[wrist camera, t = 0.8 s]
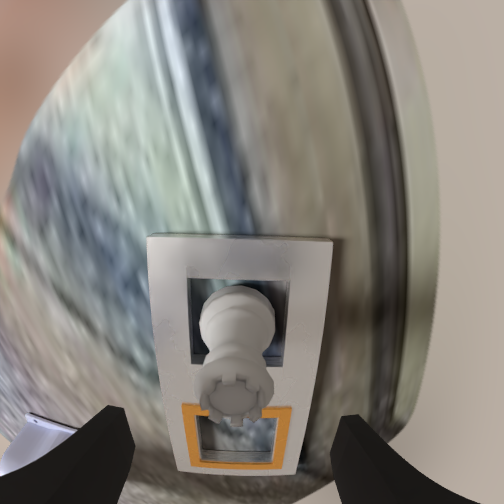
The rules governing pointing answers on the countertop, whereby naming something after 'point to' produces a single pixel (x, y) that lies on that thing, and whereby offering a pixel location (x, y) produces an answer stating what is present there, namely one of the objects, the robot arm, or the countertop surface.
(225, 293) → the rook chess piece
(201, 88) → the countertop surface
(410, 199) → the countertop surface
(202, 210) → the countertop surface
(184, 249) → the rail plate
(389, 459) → the robot arm
